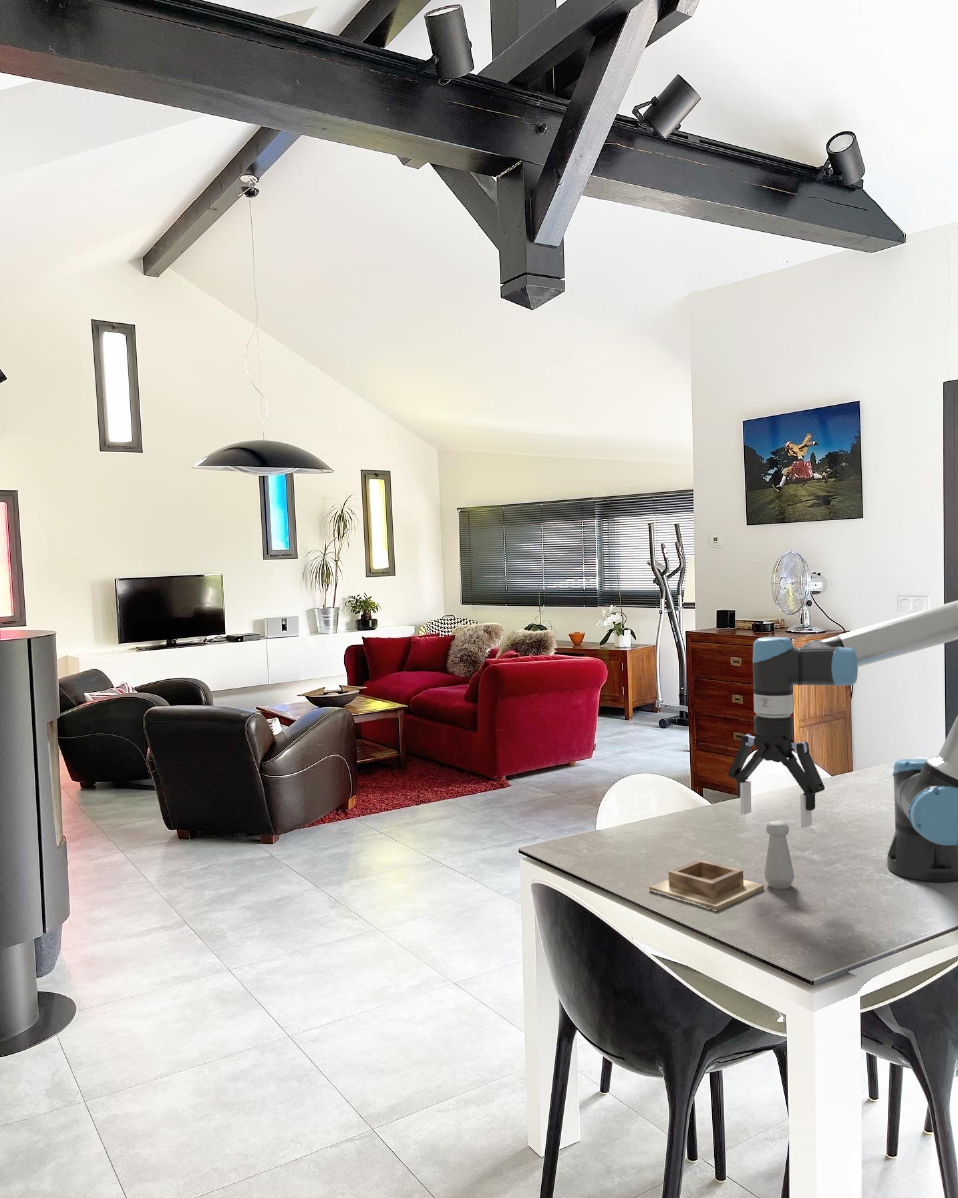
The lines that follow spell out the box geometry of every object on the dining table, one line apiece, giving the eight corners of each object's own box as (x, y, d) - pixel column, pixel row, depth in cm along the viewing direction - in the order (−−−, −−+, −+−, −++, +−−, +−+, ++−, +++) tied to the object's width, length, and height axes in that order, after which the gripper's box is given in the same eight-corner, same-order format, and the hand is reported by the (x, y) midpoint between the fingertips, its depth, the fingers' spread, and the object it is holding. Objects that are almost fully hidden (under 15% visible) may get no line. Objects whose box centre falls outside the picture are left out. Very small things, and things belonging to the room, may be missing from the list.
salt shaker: (771, 879, 191) (769, 816, 191) (798, 884, 188) (796, 820, 187) (759, 887, 187) (757, 823, 186) (787, 893, 183) (785, 827, 183)
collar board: (763, 889, 185) (763, 870, 185) (716, 911, 175) (715, 890, 175) (697, 872, 197) (696, 853, 197) (649, 891, 187) (648, 872, 187)
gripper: (710, 710, 193) (712, 811, 194) (821, 724, 174) (823, 836, 175) (731, 706, 198) (733, 804, 199) (841, 718, 179) (843, 827, 180)
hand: (775, 819), depth 187 cm, fingers open, 13 cm apart
